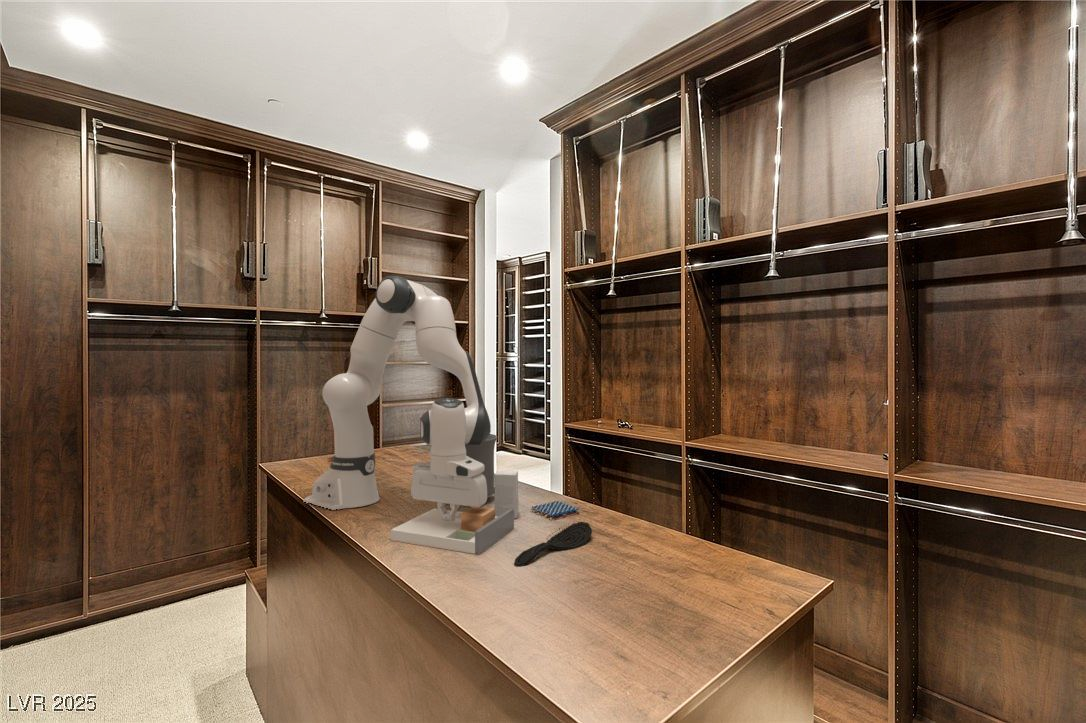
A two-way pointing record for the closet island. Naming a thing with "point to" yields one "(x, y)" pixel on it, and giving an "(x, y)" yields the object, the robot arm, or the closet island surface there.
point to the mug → (485, 459)
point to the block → (476, 518)
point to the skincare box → (506, 492)
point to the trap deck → (452, 532)
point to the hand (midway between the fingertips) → (448, 520)
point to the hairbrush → (558, 542)
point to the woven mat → (555, 510)
